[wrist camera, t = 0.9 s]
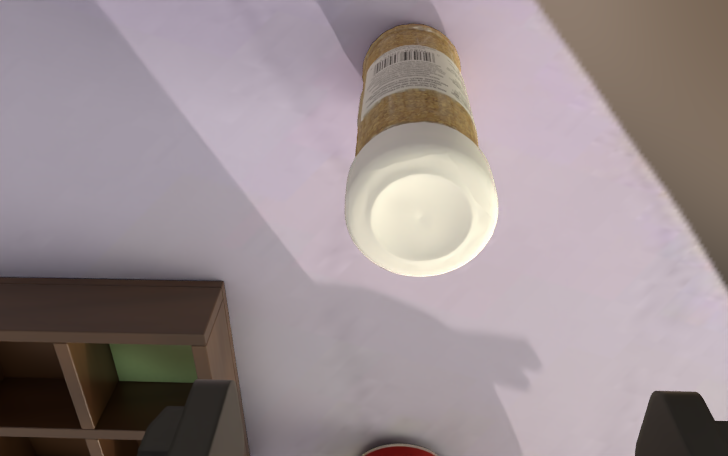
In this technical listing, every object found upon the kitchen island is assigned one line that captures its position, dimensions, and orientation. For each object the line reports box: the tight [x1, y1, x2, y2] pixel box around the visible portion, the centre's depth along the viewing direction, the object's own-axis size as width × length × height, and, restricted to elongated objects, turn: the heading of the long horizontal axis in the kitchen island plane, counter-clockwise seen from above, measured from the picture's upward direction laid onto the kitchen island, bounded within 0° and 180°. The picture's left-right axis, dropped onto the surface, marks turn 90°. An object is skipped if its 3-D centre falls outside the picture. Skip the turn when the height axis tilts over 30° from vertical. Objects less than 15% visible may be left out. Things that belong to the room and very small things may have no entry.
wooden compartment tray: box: [0, 277, 250, 456], centre depth 40 cm, size 15×15×5 cm
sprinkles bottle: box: [345, 24, 498, 277], centre depth 25 cm, size 5×5×13 cm
